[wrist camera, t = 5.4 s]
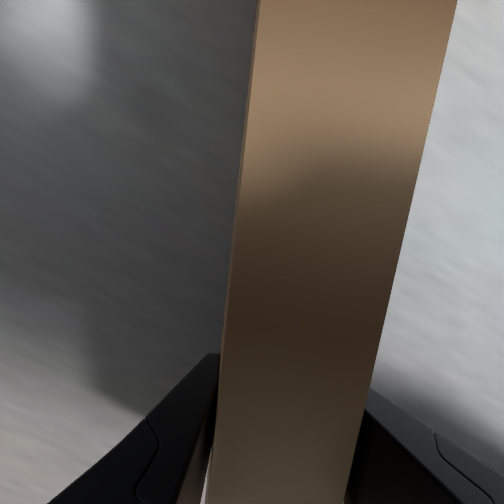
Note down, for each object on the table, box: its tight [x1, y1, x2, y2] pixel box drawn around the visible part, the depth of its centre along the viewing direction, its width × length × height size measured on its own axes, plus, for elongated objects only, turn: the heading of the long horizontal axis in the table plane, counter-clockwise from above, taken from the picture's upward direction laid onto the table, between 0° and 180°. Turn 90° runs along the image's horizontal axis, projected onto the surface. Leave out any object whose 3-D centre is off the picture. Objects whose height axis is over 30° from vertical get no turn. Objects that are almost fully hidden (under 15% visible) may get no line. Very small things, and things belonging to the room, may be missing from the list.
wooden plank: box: [205, 0, 457, 504], centre depth 7 cm, size 18×3×4 cm, turn 173°
